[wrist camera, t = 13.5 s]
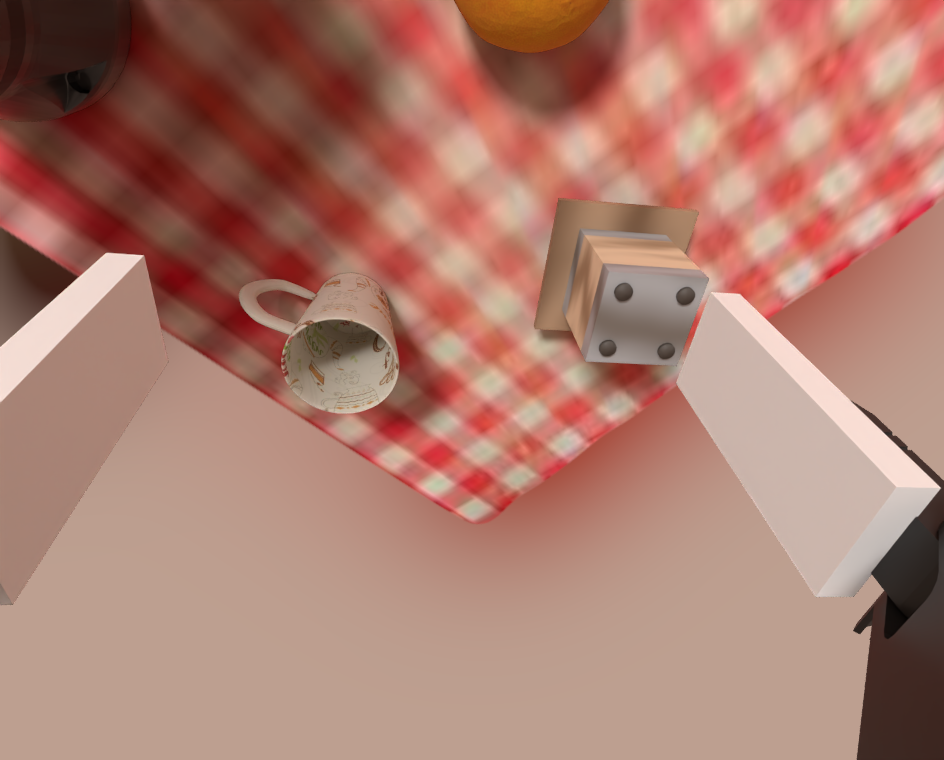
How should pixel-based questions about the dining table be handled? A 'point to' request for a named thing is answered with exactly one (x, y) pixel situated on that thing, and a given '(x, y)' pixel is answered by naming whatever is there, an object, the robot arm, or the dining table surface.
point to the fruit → (530, 21)
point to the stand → (599, 218)
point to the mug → (334, 342)
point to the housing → (631, 297)
